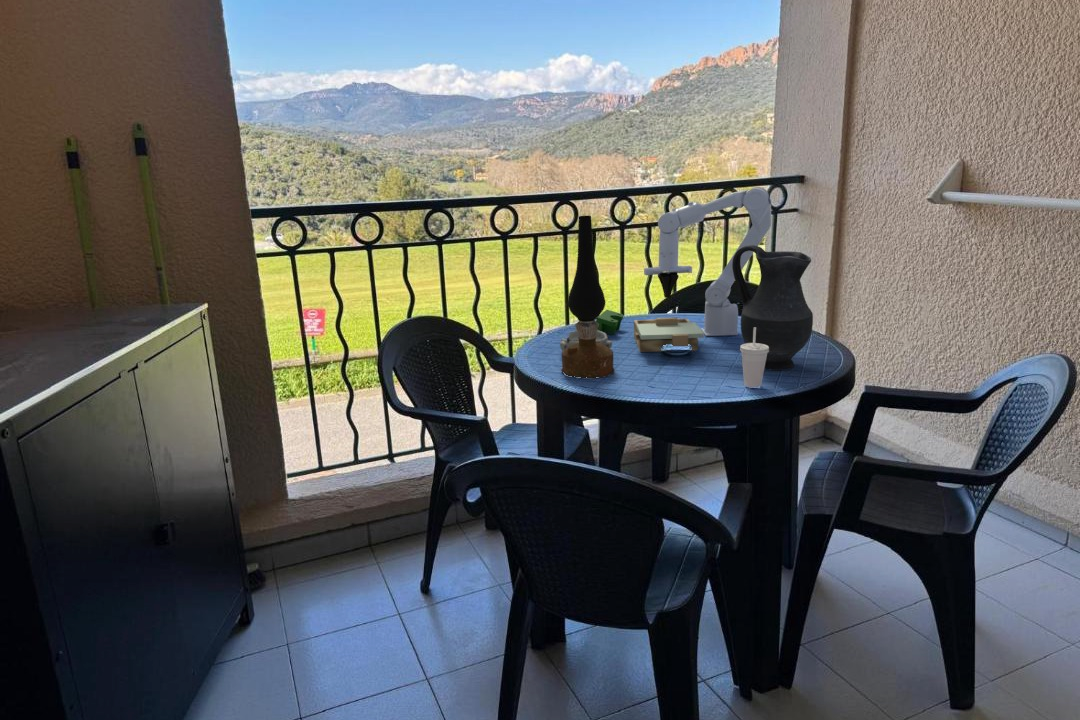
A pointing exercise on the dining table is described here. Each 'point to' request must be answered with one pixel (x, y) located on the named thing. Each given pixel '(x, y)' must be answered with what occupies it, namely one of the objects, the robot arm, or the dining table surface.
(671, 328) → the lid
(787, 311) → the pitcher
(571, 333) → the dish
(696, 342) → the tan shallow box
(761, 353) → the smoothie
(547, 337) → the dining table surface
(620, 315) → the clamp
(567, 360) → the oil lamp
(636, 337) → the wooden block
